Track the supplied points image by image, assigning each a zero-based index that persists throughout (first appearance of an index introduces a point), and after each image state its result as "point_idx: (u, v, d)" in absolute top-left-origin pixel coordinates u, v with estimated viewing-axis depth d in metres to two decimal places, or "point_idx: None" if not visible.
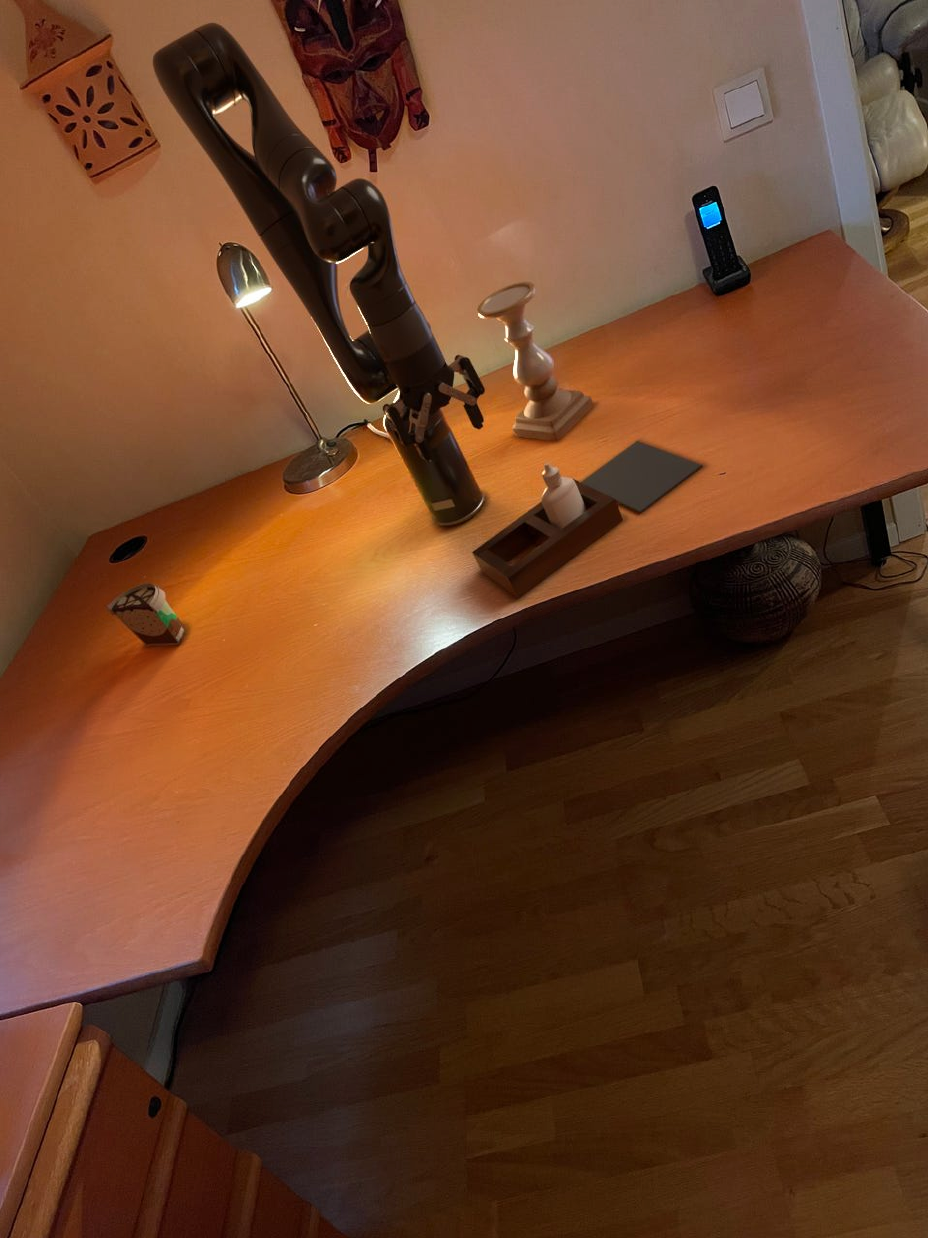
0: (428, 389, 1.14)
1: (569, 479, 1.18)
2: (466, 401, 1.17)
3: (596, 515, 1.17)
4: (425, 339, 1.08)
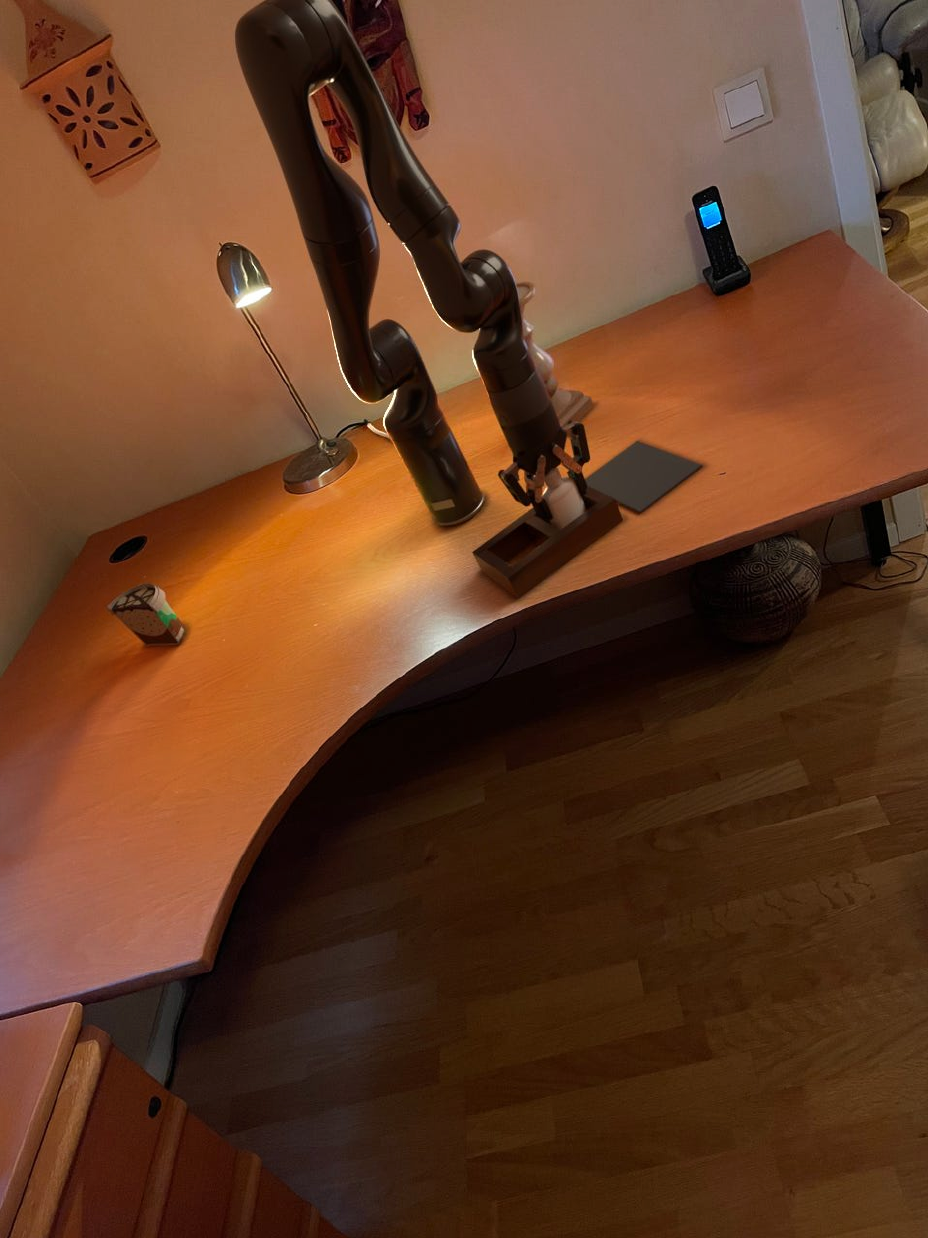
0: (541, 451, 1.13)
1: (569, 479, 1.18)
2: (572, 469, 1.17)
3: (596, 515, 1.17)
4: (545, 404, 1.08)
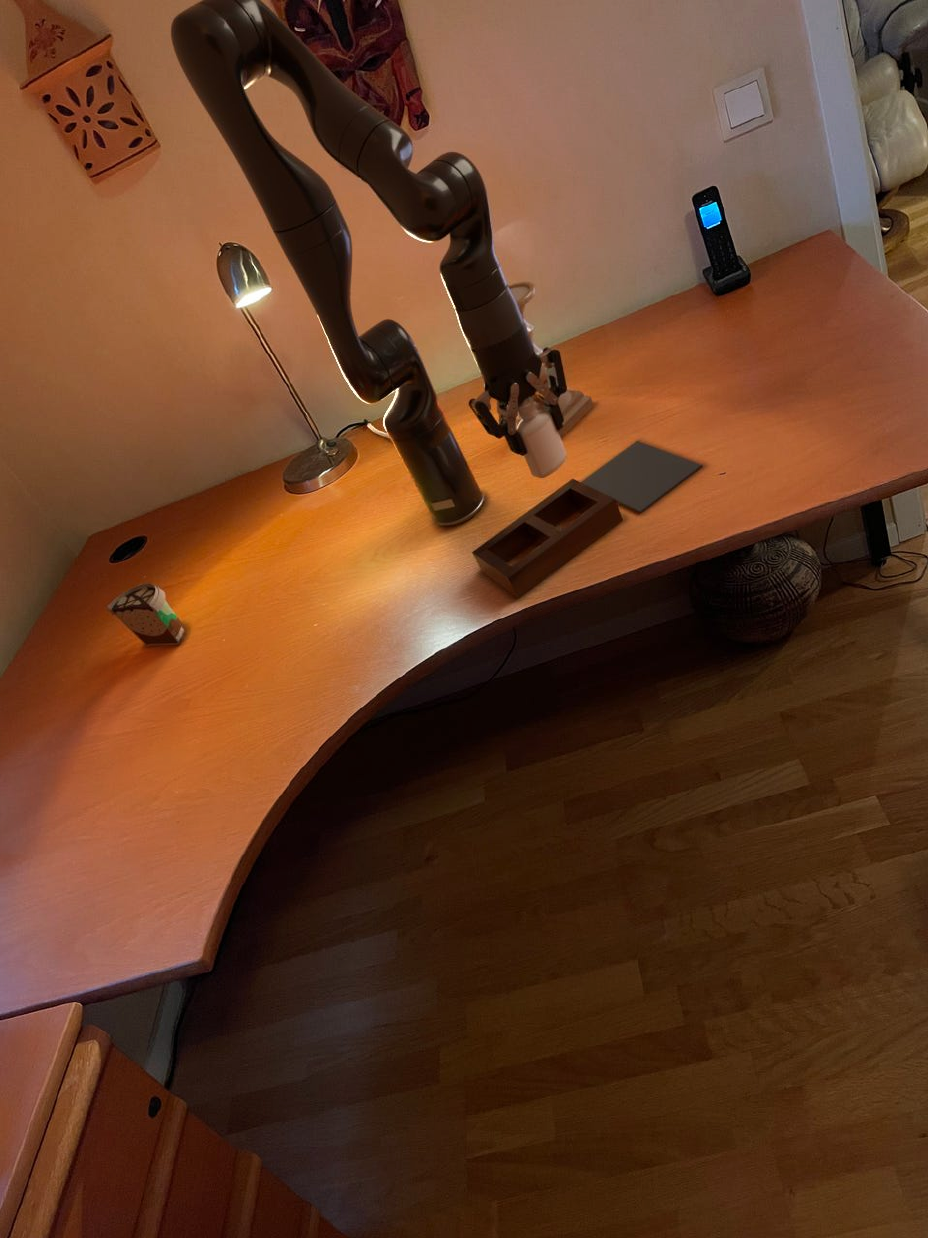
0: (515, 378, 1.07)
1: (545, 411, 1.12)
2: (548, 400, 1.11)
3: (596, 515, 1.17)
4: (517, 325, 1.01)
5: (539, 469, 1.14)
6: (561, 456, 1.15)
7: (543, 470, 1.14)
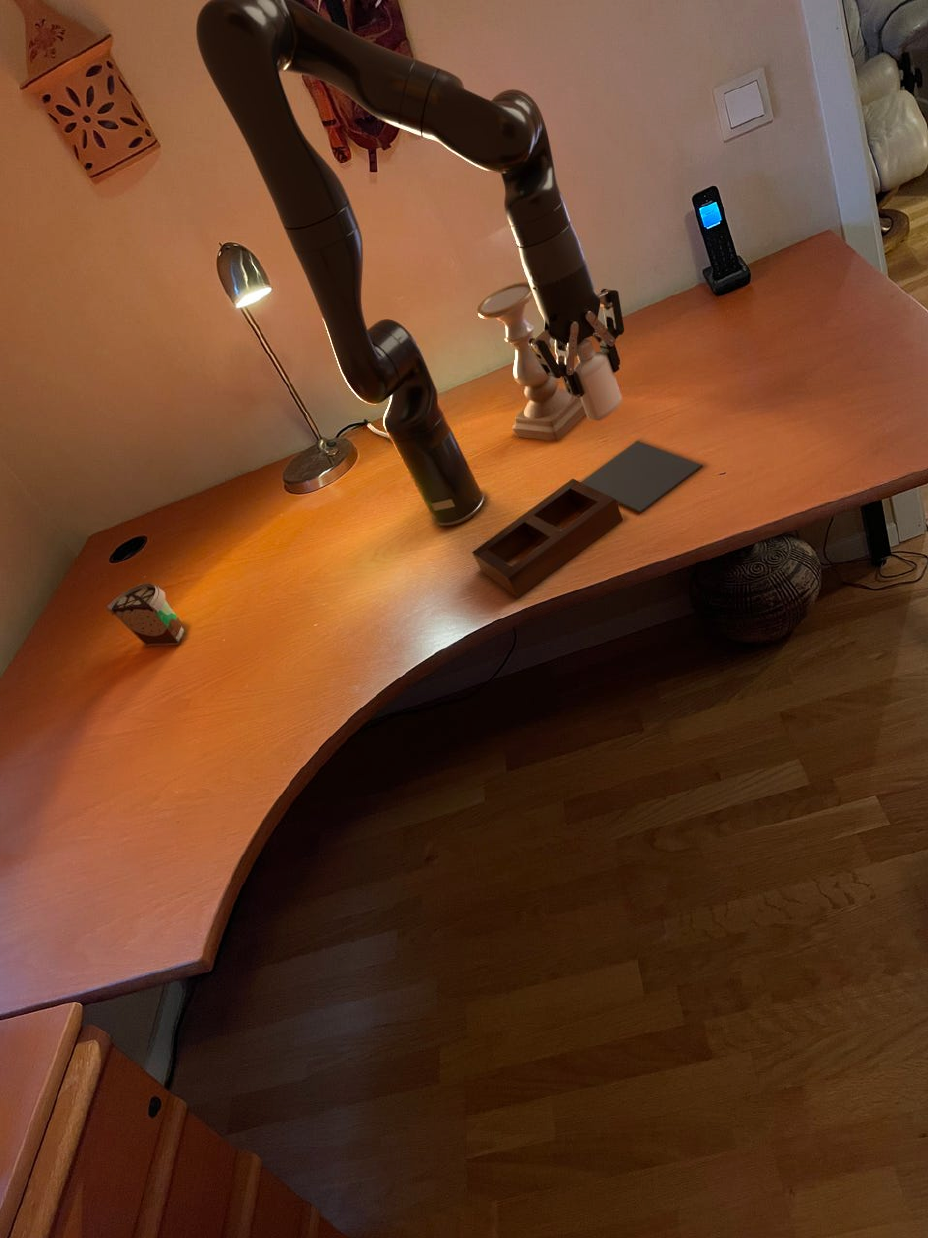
0: (574, 317, 1.08)
1: (602, 353, 1.13)
2: (605, 341, 1.12)
3: (596, 515, 1.17)
4: (579, 261, 1.03)
5: (595, 411, 1.15)
6: (617, 399, 1.16)
7: (599, 412, 1.16)
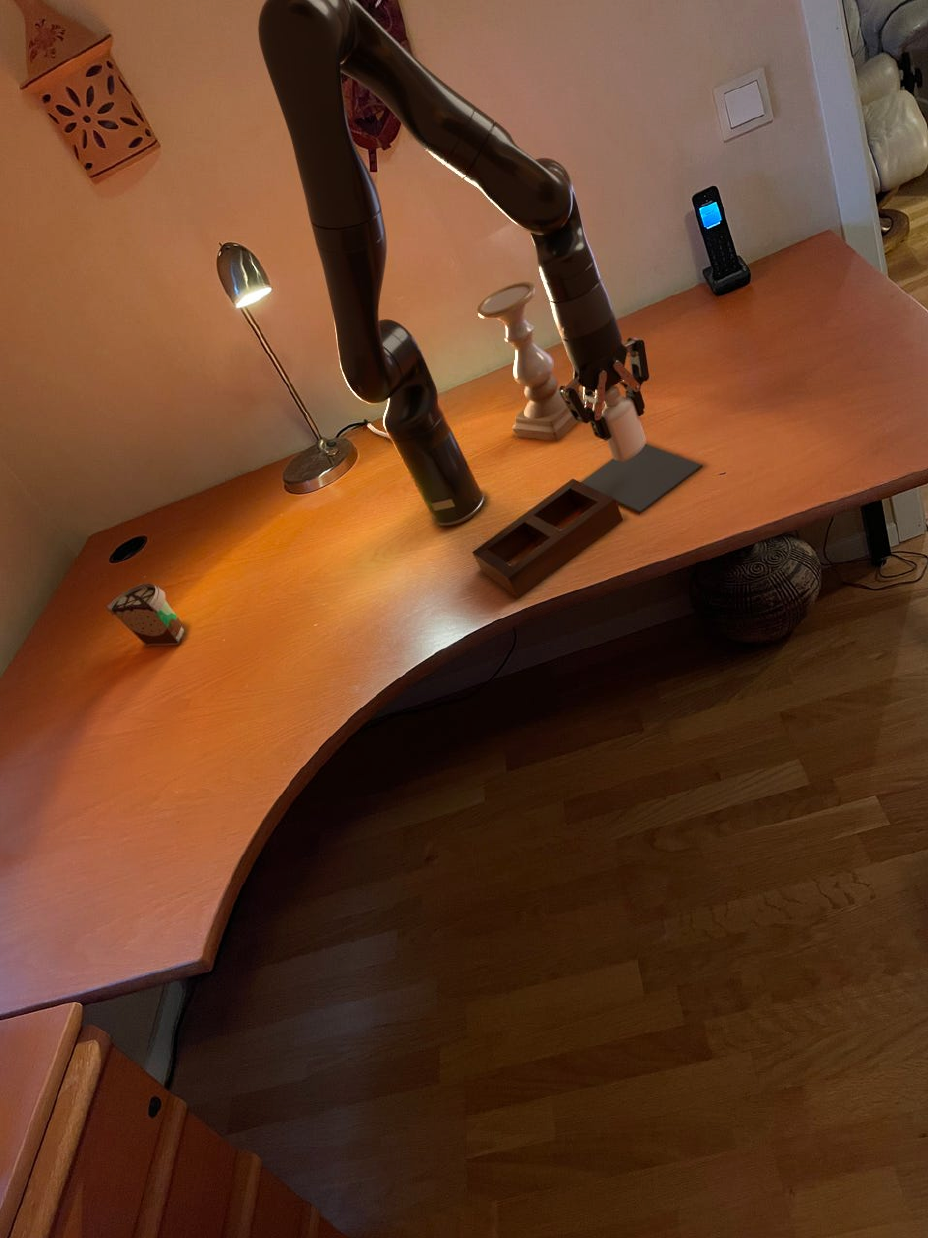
0: (602, 366, 1.14)
1: (628, 398, 1.19)
2: (631, 387, 1.17)
3: (596, 515, 1.17)
4: (609, 315, 1.08)
5: (621, 453, 1.21)
6: (641, 441, 1.22)
7: (625, 454, 1.21)
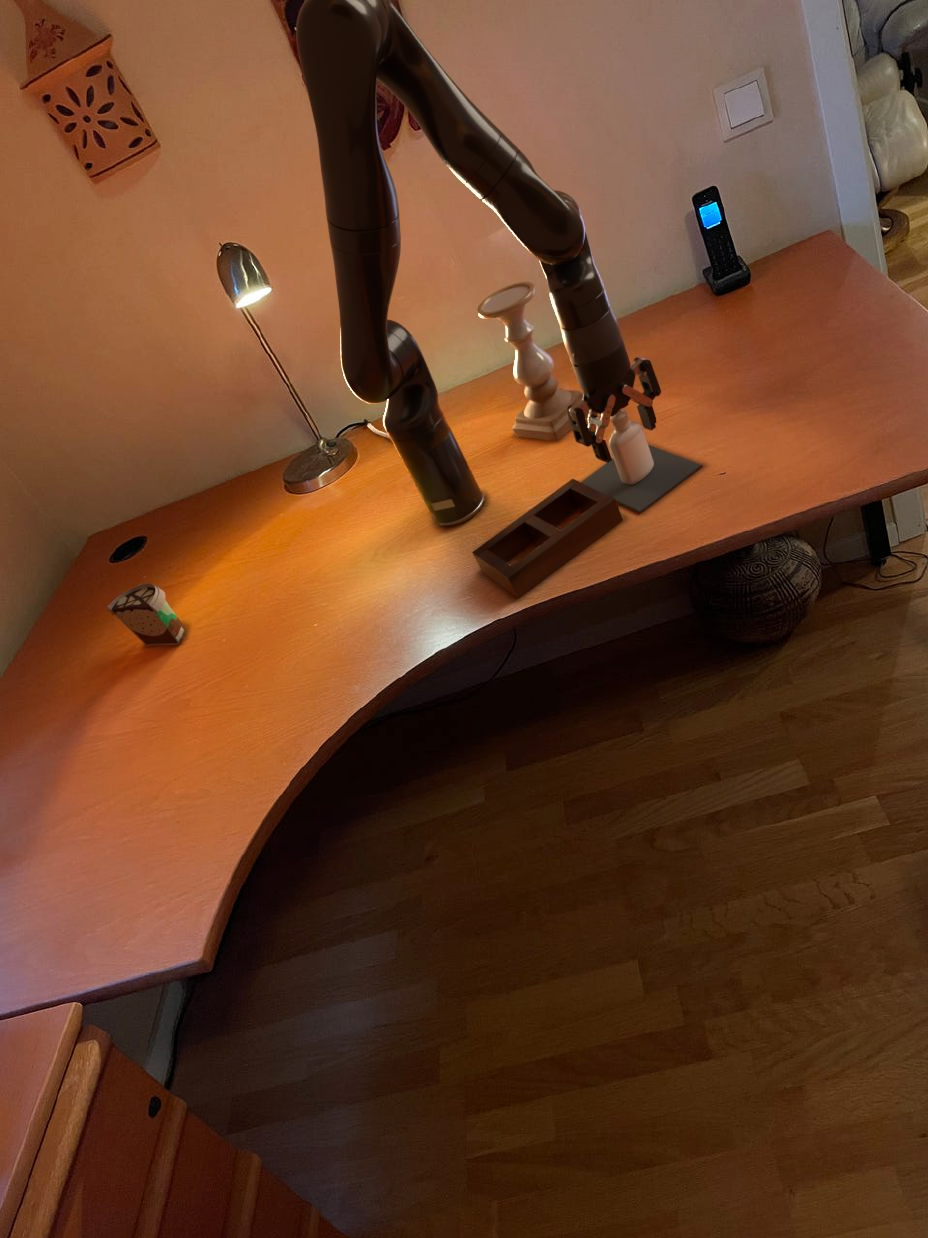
0: (611, 390, 1.16)
1: (636, 423, 1.21)
2: (643, 402, 1.19)
3: (596, 515, 1.17)
4: (618, 342, 1.10)
5: (629, 476, 1.23)
6: (649, 464, 1.24)
7: (633, 477, 1.23)
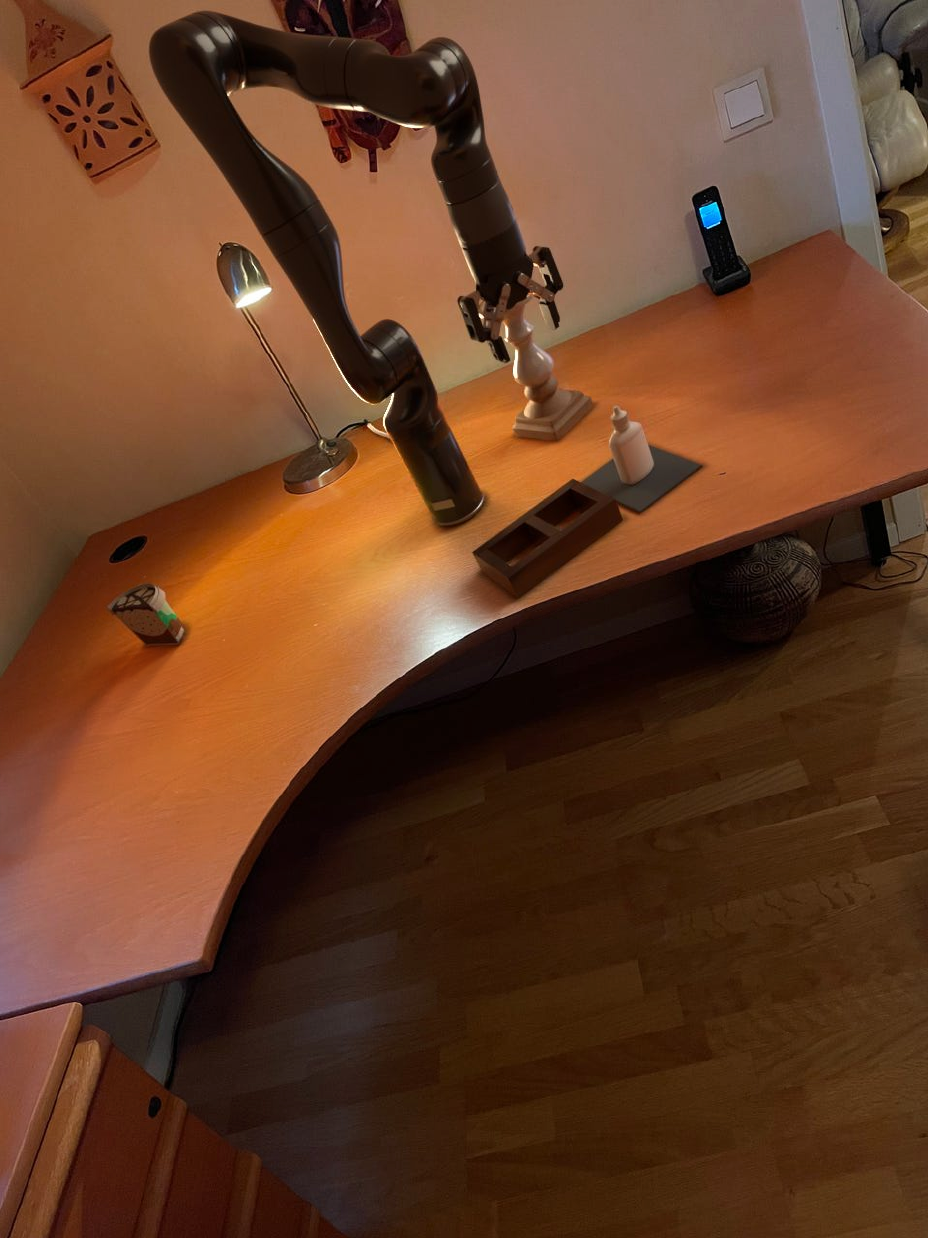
0: (506, 280, 1.06)
1: (636, 423, 1.21)
2: (544, 296, 1.10)
3: (596, 515, 1.17)
4: (509, 221, 1.00)
5: (629, 476, 1.23)
6: (649, 464, 1.24)
7: (633, 477, 1.23)
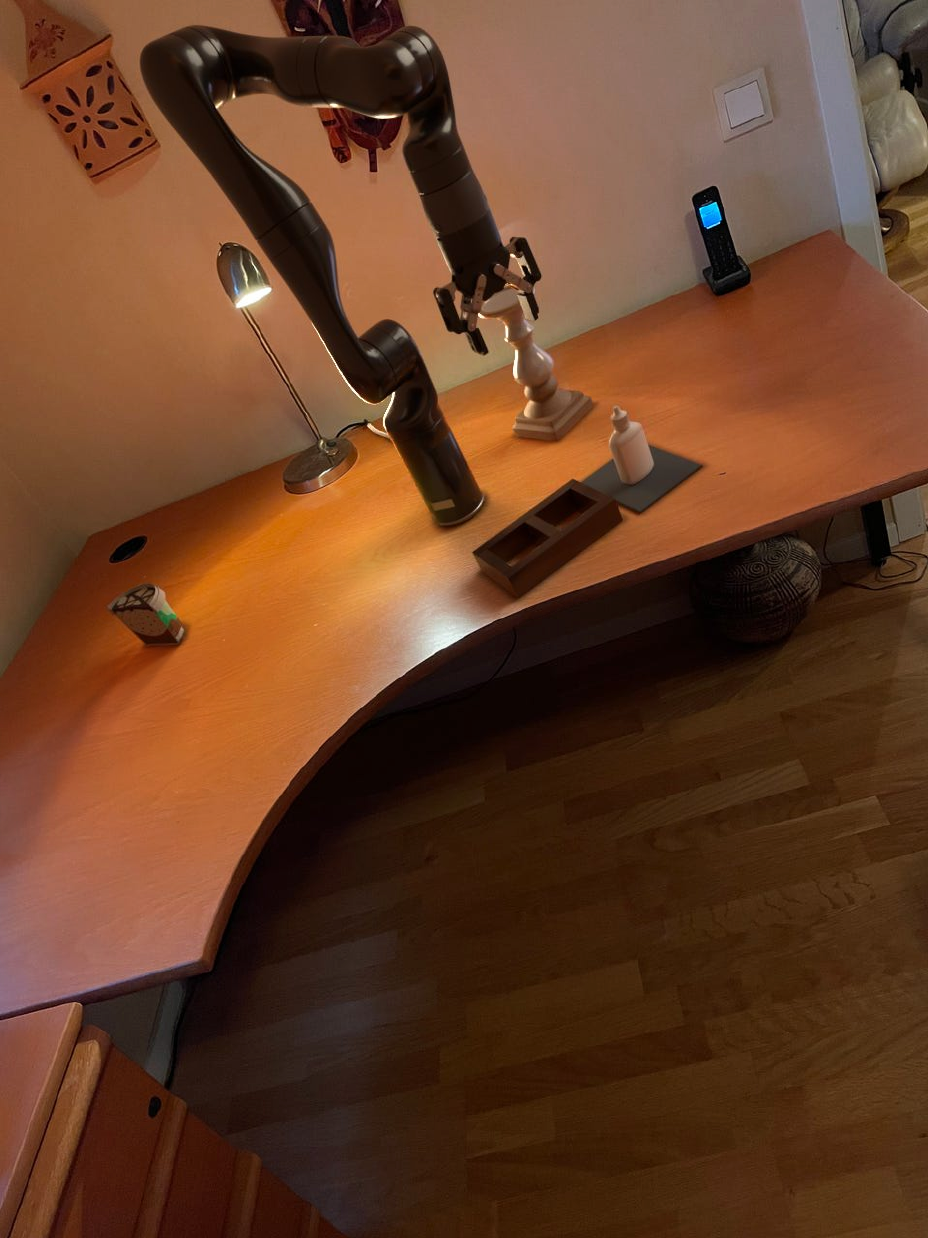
0: (482, 271, 1.05)
1: (636, 423, 1.21)
2: (522, 287, 1.09)
3: (596, 515, 1.17)
4: (482, 210, 1.00)
5: (629, 476, 1.23)
6: (649, 464, 1.24)
7: (633, 477, 1.23)
